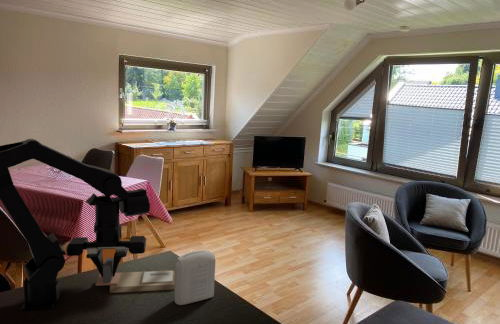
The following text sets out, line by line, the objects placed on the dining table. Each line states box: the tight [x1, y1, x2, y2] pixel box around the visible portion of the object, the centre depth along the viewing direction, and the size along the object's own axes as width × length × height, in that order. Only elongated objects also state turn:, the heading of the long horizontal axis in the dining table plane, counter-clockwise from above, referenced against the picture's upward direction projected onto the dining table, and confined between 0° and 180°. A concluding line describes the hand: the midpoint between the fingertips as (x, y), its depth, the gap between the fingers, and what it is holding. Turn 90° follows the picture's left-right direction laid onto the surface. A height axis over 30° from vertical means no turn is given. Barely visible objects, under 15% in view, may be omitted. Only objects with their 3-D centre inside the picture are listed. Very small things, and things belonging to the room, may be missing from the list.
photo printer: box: [174, 250, 216, 306], centre depth 94 cm, size 10×4×12 cm, turn 123°
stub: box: [95, 257, 121, 287], centre depth 99 cm, size 5×6×5 cm
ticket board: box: [109, 269, 175, 294], centre depth 101 cm, size 16×8×2 cm, turn 101°
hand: (108, 276), depth 99 cm, fingers open, 2 cm apart
